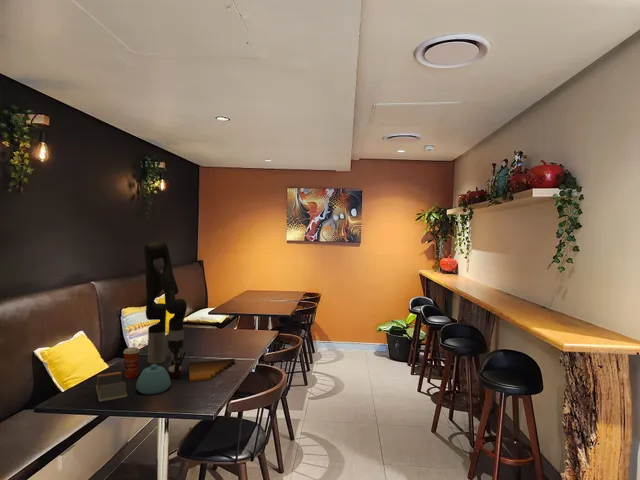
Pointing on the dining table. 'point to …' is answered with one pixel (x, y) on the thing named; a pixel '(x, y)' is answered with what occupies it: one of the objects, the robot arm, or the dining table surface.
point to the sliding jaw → (108, 378)
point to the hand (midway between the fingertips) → (175, 370)
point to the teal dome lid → (153, 380)
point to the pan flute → (207, 369)
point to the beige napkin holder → (111, 391)
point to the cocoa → (171, 370)
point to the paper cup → (131, 362)
